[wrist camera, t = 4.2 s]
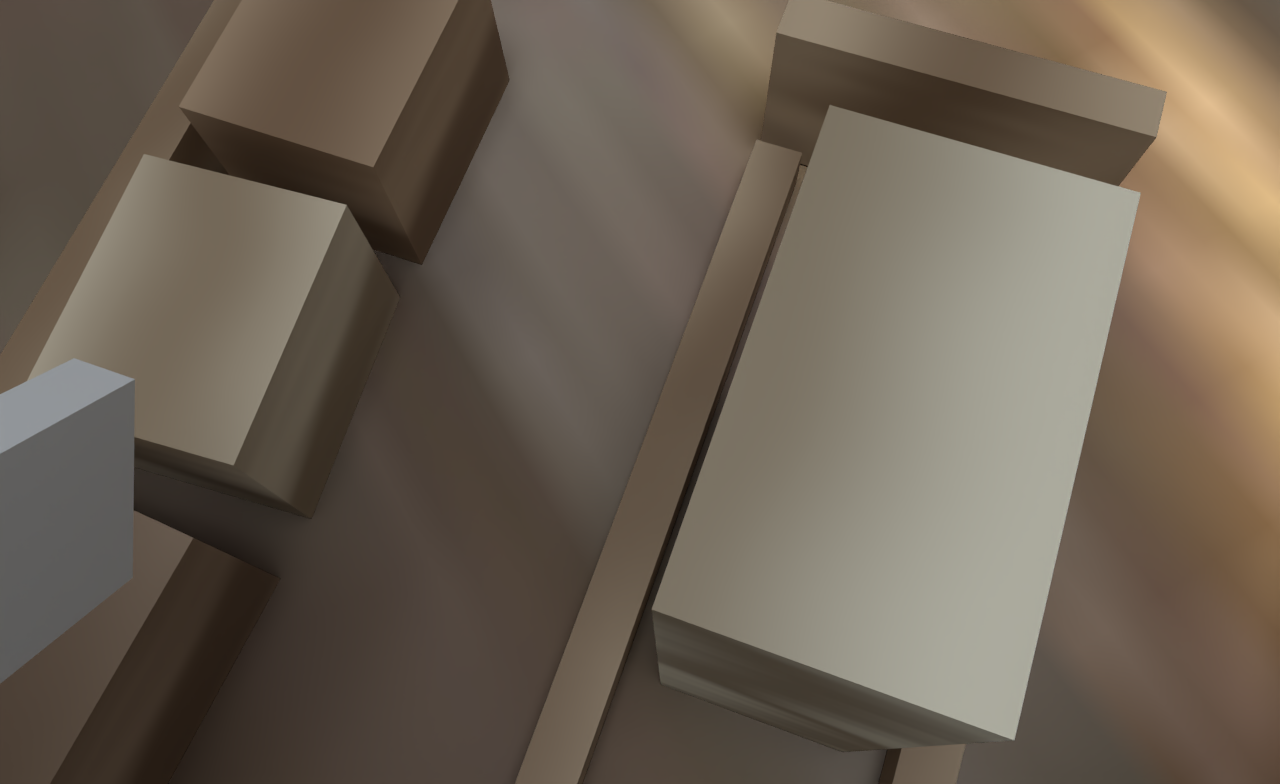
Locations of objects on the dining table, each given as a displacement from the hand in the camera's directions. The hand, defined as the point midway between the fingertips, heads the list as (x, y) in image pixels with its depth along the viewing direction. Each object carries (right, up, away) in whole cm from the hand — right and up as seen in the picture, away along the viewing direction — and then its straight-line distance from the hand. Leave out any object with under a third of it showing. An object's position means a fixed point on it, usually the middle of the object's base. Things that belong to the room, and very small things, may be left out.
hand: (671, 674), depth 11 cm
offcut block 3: (-10, -2, +9) cm, 14 cm away
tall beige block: (+3, 0, +9) cm, 9 cm away
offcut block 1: (-6, +9, +13) cm, 16 cm away
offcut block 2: (-8, +3, +11) cm, 14 cm away
